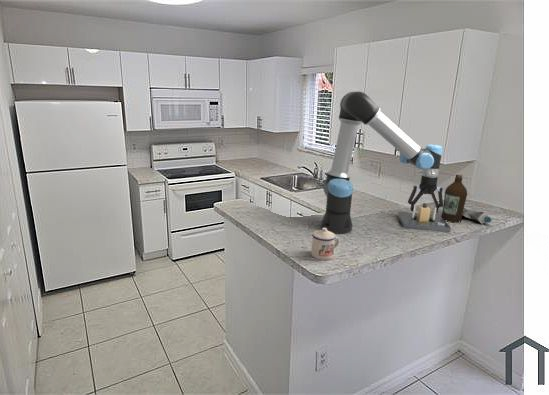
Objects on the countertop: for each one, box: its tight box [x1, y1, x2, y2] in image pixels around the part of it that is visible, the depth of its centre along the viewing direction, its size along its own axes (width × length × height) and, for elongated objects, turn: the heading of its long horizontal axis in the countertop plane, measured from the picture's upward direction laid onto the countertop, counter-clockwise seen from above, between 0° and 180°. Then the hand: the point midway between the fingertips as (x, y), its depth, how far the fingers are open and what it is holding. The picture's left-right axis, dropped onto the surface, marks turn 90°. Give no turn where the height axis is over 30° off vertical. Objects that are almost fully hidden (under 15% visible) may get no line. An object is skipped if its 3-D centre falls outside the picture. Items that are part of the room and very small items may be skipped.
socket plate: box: [396, 211, 452, 233], centre depth 184 cm, size 22×20×4 cm
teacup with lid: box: [311, 228, 340, 261], centre depth 140 cm, size 12×9×12 cm
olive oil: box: [441, 174, 468, 223], centre depth 189 cm, size 11×11×25 cm
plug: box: [416, 202, 432, 222], centre depth 183 cm, size 4×6×11 cm
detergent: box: [462, 207, 492, 224], centre depth 194 cm, size 13×7×25 cm
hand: (422, 218), depth 184 cm, fingers open, 9 cm apart
